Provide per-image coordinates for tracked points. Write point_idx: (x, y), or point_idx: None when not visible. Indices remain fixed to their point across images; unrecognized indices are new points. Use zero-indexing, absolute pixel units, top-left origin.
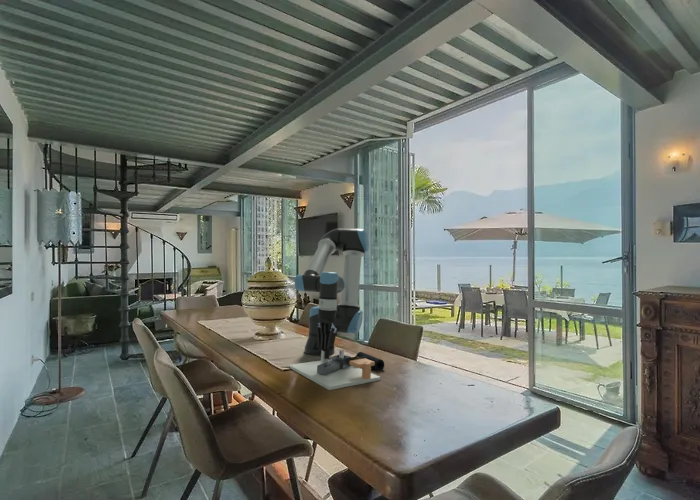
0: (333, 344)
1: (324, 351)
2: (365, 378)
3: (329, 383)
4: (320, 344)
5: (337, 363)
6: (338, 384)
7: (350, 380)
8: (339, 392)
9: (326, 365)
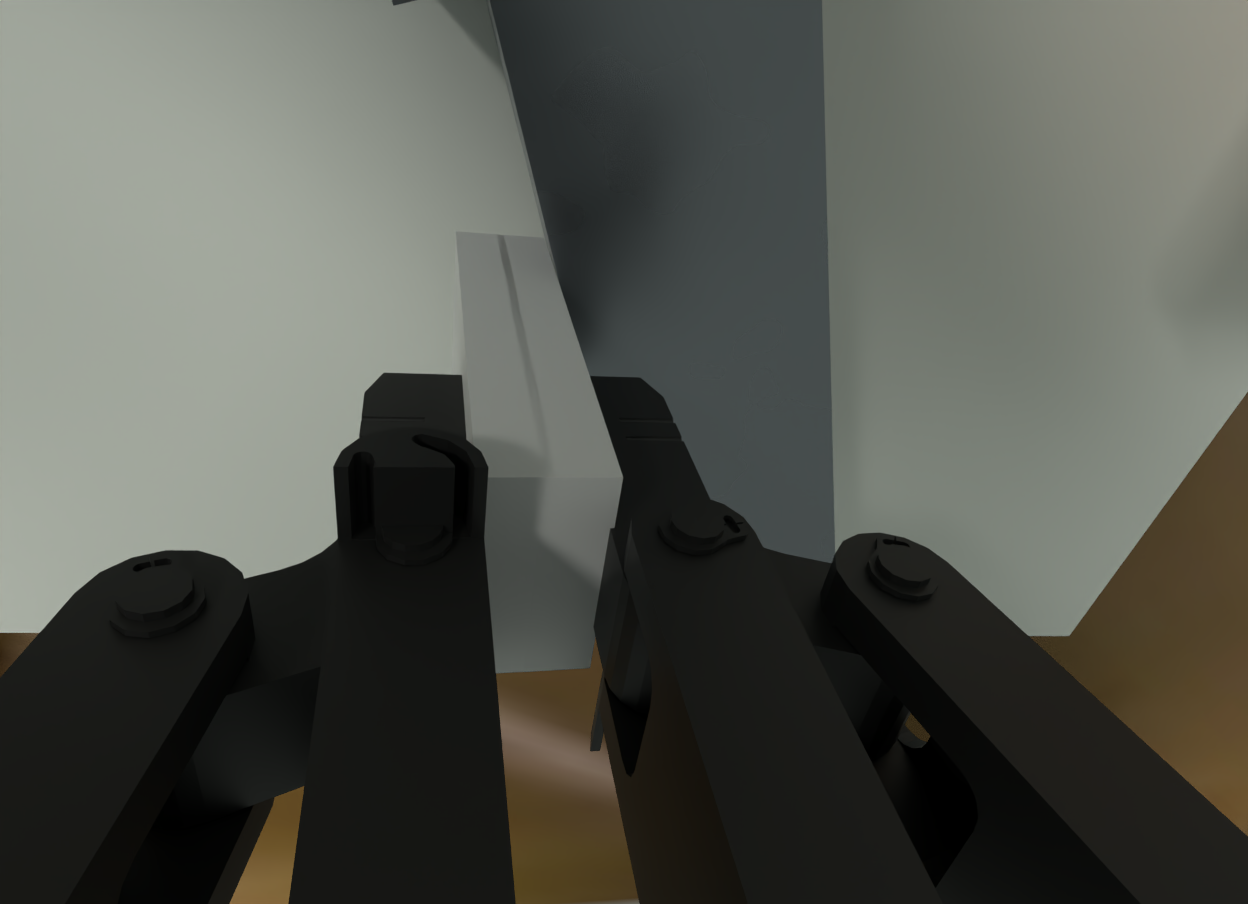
0: (1118, 747)
1: (594, 621)
2: None
3: (1017, 587)
4: (209, 807)
5: (818, 142)
6: (1131, 528)
7: (1234, 307)
8: (1169, 564)
9: (765, 495)
